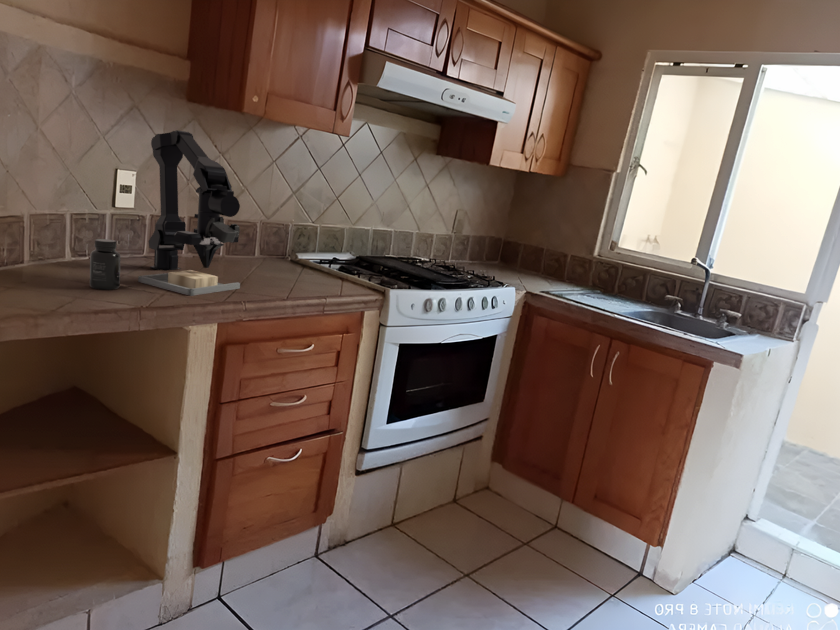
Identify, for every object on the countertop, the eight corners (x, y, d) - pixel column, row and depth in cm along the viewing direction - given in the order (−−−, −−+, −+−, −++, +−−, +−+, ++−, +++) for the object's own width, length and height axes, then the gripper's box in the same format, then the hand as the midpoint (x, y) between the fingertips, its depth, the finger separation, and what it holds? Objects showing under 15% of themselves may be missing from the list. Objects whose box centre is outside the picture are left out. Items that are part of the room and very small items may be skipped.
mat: (138, 283, 166) (138, 276, 166) (189, 277, 182) (190, 270, 182) (190, 297, 158) (191, 290, 158) (239, 290, 174) (240, 283, 174)
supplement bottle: (125, 289, 158) (126, 242, 156) (99, 291, 153) (100, 243, 150) (109, 283, 162) (110, 237, 159) (83, 285, 156) (84, 238, 153)
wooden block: (190, 280, 176) (167, 283, 169) (191, 269, 175) (168, 272, 168) (217, 287, 172) (195, 290, 165) (217, 276, 171) (195, 279, 164)
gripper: (205, 216, 158) (202, 276, 162) (255, 216, 175) (251, 270, 178) (174, 209, 163) (171, 268, 166) (225, 210, 179) (221, 263, 183)
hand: (206, 267), depth 173 cm, fingers closed
